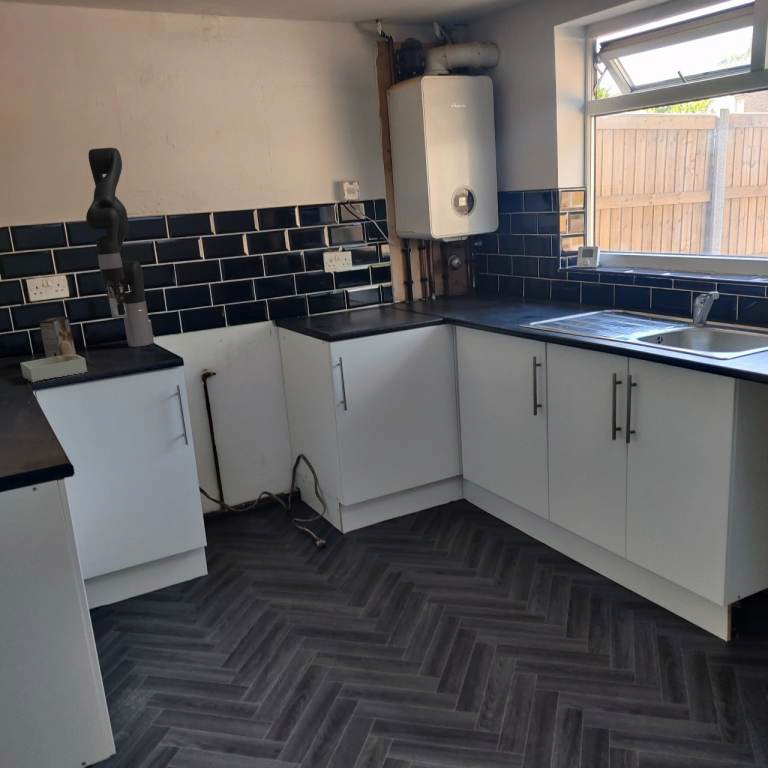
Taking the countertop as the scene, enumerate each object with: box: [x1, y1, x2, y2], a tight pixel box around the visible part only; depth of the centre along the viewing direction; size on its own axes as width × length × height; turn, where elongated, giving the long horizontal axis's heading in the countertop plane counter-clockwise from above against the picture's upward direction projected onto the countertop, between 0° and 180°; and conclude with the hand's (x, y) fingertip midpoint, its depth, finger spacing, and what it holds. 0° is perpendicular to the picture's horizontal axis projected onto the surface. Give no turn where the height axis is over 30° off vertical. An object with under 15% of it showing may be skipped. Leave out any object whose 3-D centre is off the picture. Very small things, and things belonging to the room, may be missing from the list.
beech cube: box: [56, 354, 76, 363], centre depth 251 cm, size 5×5×5 cm
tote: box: [20, 353, 88, 384], centre depth 249 cm, size 18×14×5 cm
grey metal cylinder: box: [108, 297, 127, 319], centre depth 259 cm, size 5×5×7 cm
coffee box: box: [38, 316, 77, 358], centre depth 268 cm, size 9×6×16 cm
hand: (119, 313), depth 260 cm, fingers closed on grey metal cylinder, 5 cm apart
